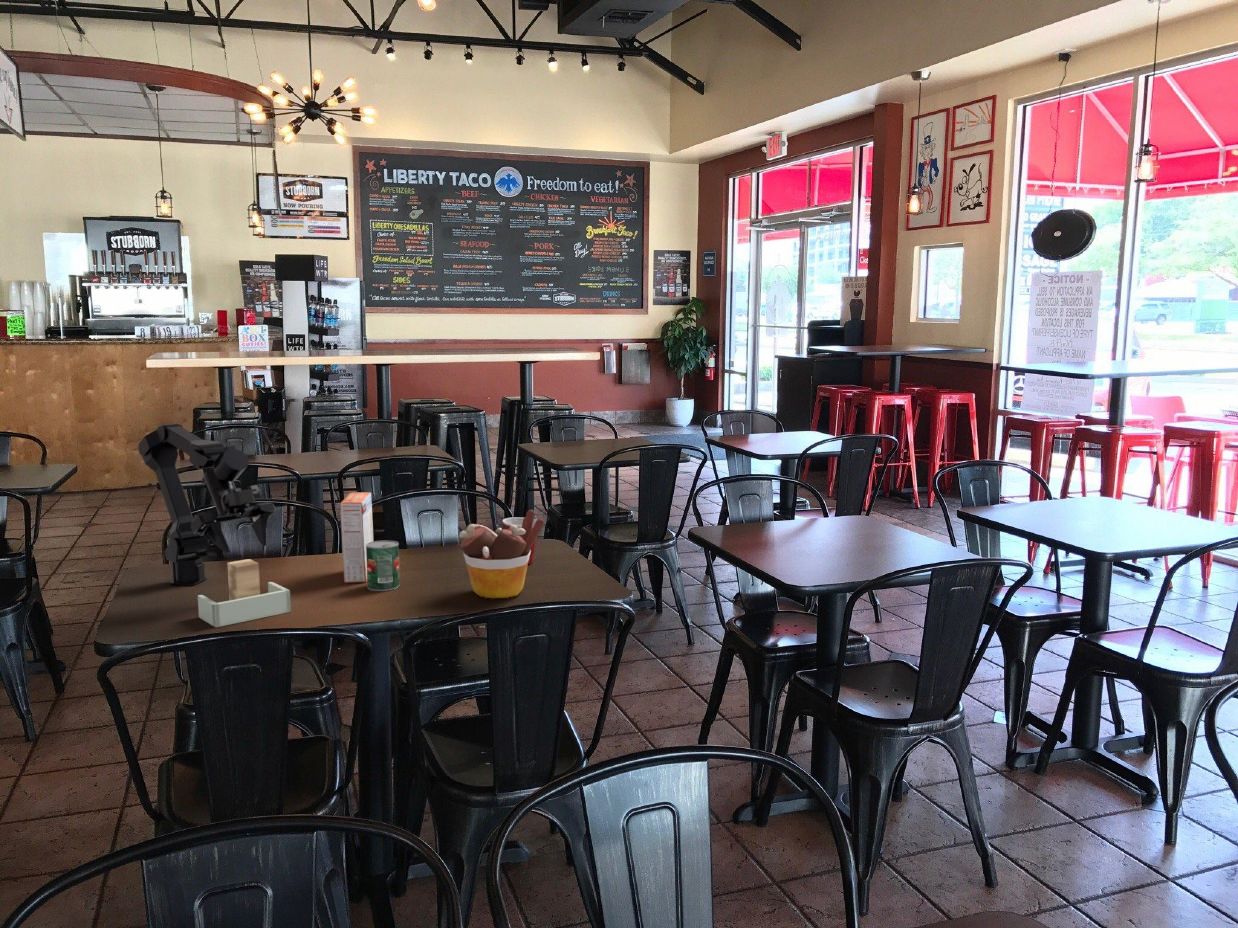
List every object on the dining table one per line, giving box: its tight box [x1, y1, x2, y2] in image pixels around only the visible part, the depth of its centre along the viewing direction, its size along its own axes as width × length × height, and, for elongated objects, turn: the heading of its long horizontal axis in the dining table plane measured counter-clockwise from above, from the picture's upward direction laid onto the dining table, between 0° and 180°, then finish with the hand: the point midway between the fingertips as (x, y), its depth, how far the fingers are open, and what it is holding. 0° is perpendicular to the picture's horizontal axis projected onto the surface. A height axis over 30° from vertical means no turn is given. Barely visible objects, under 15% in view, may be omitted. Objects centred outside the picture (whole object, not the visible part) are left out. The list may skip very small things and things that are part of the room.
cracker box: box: [339, 491, 374, 584], centre depth 250 cm, size 14×6×21 cm, turn 5°
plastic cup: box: [502, 516, 538, 565], centre depth 265 cm, size 11×11×12 cm
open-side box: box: [197, 581, 292, 628], centre depth 219 cm, size 10×17×5 cm, turn 133°
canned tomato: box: [366, 540, 401, 592], centre depth 241 cm, size 8×8×11 cm
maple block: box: [226, 558, 261, 601], centre depth 218 cm, size 5×5×12 cm
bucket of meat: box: [458, 509, 545, 600], centre depth 236 cm, size 20×16×20 cm
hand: (246, 549), depth 225 cm, fingers open, 9 cm apart
